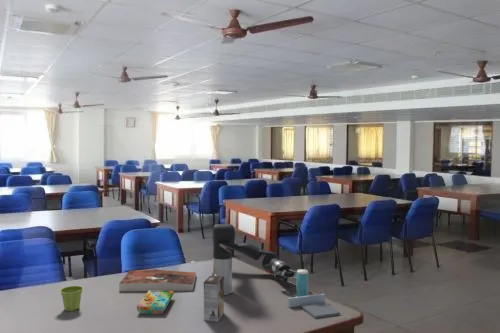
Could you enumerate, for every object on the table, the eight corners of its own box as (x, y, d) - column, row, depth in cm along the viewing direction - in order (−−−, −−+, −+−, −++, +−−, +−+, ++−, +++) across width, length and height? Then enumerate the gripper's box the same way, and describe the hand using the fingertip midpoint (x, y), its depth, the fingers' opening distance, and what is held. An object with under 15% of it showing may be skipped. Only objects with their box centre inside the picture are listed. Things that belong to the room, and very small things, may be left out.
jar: (299, 300, 203) (299, 273, 202) (294, 296, 208) (294, 269, 207) (310, 299, 205) (310, 271, 204) (304, 295, 210) (304, 268, 209)
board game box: (195, 277, 240) (195, 267, 239) (192, 291, 216) (192, 281, 216) (129, 277, 238) (129, 268, 238) (119, 292, 215) (119, 282, 214)
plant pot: (61, 314, 185) (60, 294, 185) (59, 306, 193) (59, 287, 193) (84, 310, 189) (84, 290, 189) (82, 303, 198) (81, 284, 197)
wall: (288, 307, 194) (289, 298, 194) (288, 306, 195) (288, 298, 195) (324, 302, 200) (324, 294, 200) (323, 302, 201) (323, 293, 201)
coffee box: (209, 312, 189) (209, 275, 188) (224, 313, 187) (224, 276, 187) (203, 320, 180) (203, 281, 179) (218, 321, 178) (218, 282, 178)
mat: (314, 318, 182) (314, 316, 182) (300, 307, 195) (300, 305, 194) (339, 314, 186) (340, 312, 186) (324, 304, 199) (324, 302, 199)
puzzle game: (136, 304, 185) (148, 288, 205) (136, 315, 185) (148, 298, 205) (164, 304, 185) (173, 289, 205) (164, 315, 185) (173, 299, 205)
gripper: (293, 275, 231) (307, 285, 216) (268, 277, 226) (281, 288, 211) (294, 261, 231) (308, 270, 215) (269, 263, 226) (281, 272, 211)
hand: (294, 279), depth 213 cm, fingers open, 8 cm apart
